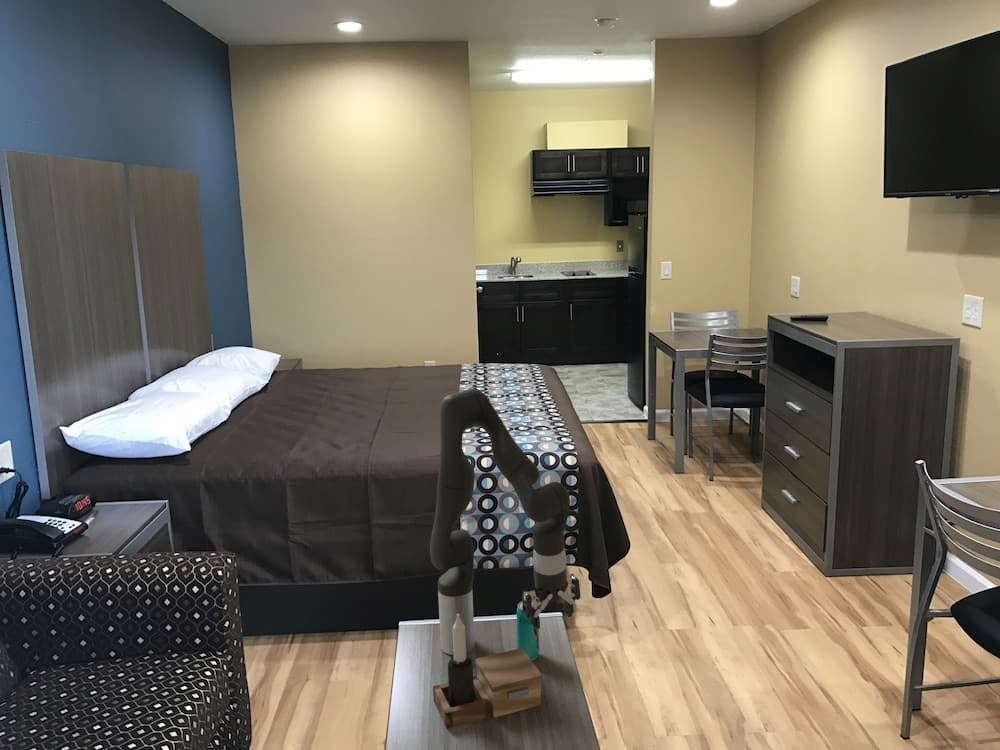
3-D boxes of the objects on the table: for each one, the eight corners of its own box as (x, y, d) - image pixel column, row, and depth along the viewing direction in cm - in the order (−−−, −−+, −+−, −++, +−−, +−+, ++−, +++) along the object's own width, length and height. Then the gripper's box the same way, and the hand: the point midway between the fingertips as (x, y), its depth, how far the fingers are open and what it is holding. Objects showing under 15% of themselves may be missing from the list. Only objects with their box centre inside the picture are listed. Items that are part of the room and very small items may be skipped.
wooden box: (432, 697, 191) (430, 667, 189) (521, 675, 199) (521, 646, 197) (448, 732, 178) (447, 700, 176) (543, 707, 186) (543, 676, 184)
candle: (475, 704, 188) (472, 610, 182) (468, 717, 183) (464, 621, 178) (456, 700, 189) (452, 607, 184) (448, 713, 185) (443, 617, 179)
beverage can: (537, 663, 203) (536, 611, 200) (515, 661, 205) (514, 610, 201) (540, 651, 209) (539, 600, 206) (519, 649, 210) (518, 599, 207)
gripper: (568, 546, 184) (570, 602, 190) (514, 564, 179) (518, 621, 185) (585, 563, 178) (586, 620, 184) (529, 582, 172) (533, 640, 178)
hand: (552, 620), depth 184 cm, fingers open, 8 cm apart
